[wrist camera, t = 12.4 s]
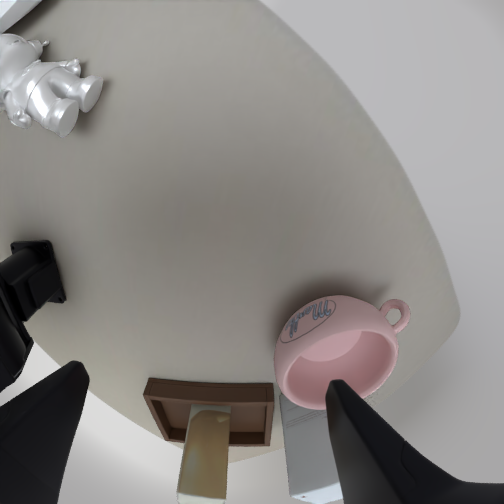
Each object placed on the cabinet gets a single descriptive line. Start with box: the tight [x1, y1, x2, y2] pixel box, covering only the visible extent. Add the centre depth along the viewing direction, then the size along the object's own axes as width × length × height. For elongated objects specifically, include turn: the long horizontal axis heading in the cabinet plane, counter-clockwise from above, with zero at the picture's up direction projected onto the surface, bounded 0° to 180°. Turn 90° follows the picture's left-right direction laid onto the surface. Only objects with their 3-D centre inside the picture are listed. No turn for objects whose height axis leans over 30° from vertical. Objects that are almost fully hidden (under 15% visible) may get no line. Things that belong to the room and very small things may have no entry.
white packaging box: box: [279, 394, 343, 504], centre depth 21 cm, size 7×7×13 cm
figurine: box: [0, 34, 103, 138], centre depth 11 cm, size 11×7×15 cm
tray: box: [143, 378, 274, 447], centre depth 27 cm, size 13×10×3 cm
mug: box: [274, 295, 410, 410], centre depth 20 cm, size 12×10×6 cm
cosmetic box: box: [177, 404, 231, 504], centre depth 22 cm, size 6×4×12 cm
